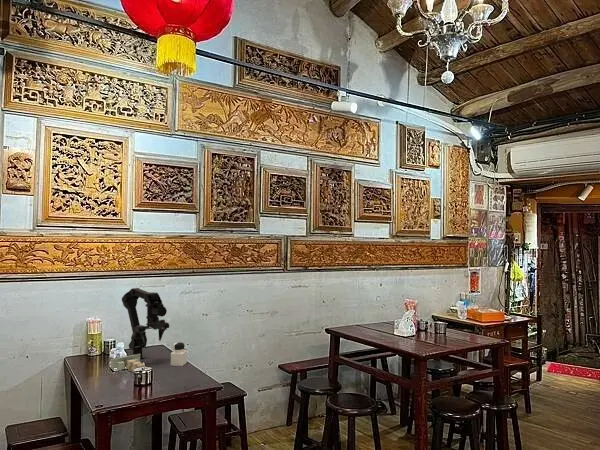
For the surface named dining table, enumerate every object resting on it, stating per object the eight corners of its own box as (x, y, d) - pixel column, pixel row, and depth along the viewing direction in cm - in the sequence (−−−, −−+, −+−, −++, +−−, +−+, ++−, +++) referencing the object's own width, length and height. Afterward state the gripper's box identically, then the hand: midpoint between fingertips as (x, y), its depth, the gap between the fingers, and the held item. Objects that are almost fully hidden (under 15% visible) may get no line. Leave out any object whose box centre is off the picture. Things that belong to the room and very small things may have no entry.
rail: (124, 368, 267) (124, 358, 267) (130, 367, 269) (130, 357, 269) (138, 375, 253) (138, 364, 254) (144, 373, 256) (144, 363, 256)
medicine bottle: (187, 362, 277) (187, 341, 277) (182, 366, 270) (182, 344, 270) (175, 362, 278) (175, 341, 278) (170, 365, 271) (170, 344, 271)
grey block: (110, 369, 265) (110, 358, 265) (138, 363, 276) (138, 353, 276) (114, 371, 261) (114, 360, 261) (143, 365, 272) (143, 354, 272)
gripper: (142, 318, 266) (142, 346, 266) (173, 314, 279) (173, 341, 278) (134, 316, 274) (134, 343, 274) (164, 312, 287) (164, 338, 287)
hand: (152, 341), depth 278 cm, fingers open, 9 cm apart
